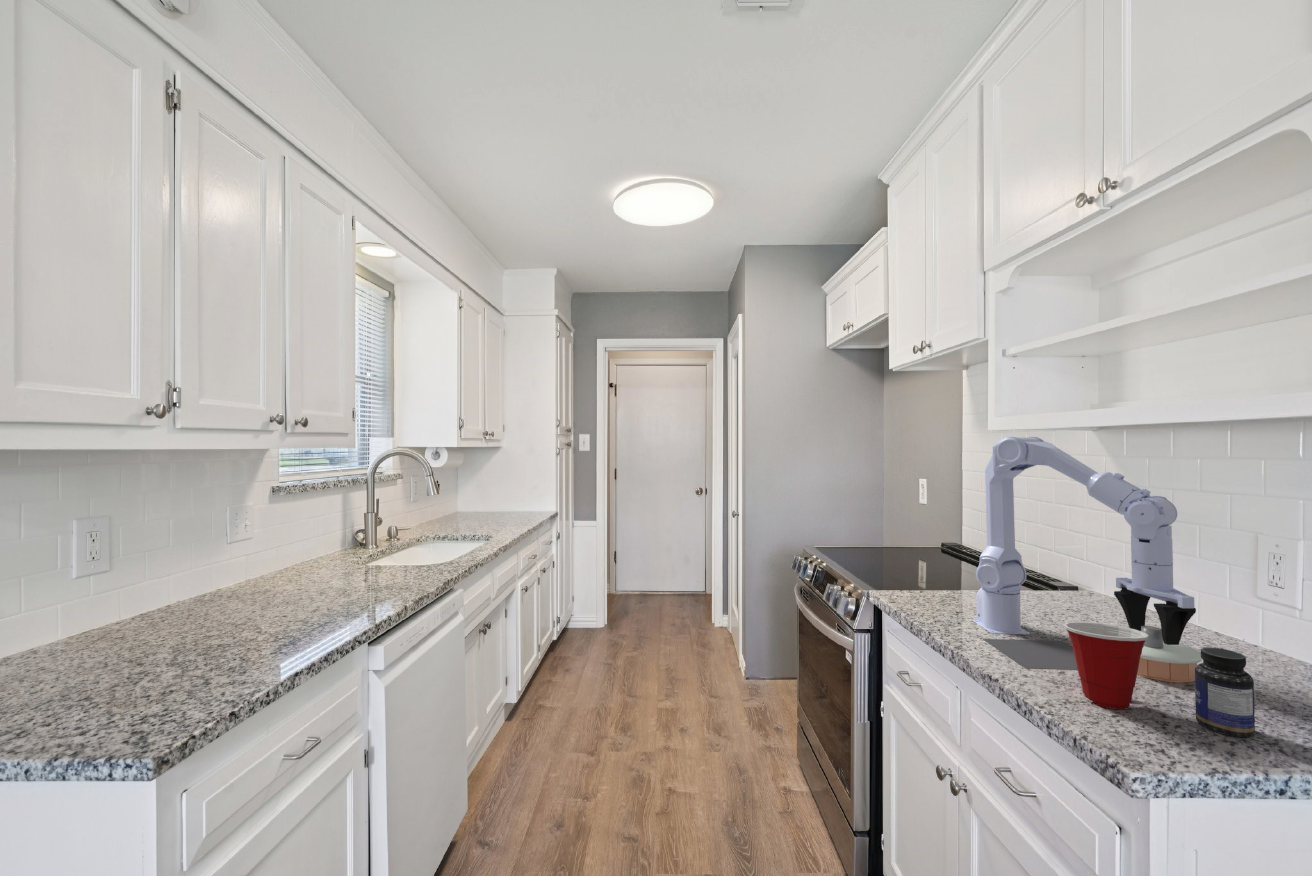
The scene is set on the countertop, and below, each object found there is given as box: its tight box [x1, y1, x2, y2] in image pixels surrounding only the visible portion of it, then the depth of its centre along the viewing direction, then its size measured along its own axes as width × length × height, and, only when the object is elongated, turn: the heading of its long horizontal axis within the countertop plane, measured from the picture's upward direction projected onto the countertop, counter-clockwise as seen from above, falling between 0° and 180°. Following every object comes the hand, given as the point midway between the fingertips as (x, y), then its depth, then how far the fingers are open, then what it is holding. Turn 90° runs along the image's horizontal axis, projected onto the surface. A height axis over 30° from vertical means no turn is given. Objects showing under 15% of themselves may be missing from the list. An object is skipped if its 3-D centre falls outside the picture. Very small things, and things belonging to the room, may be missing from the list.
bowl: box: [1137, 658, 1198, 683], centre depth 102 cm, size 11×11×4 cm
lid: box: [1140, 625, 1203, 664], centre depth 103 cm, size 13×13×4 cm
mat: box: [982, 638, 1078, 671], centre depth 111 cm, size 16×16×1 cm
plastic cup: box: [1063, 621, 1149, 710], centre depth 91 cm, size 11×11×12 cm
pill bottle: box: [1194, 646, 1256, 738], centre depth 82 cm, size 6×6×11 cm
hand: (1153, 637), depth 103 cm, fingers open, 7 cm apart
